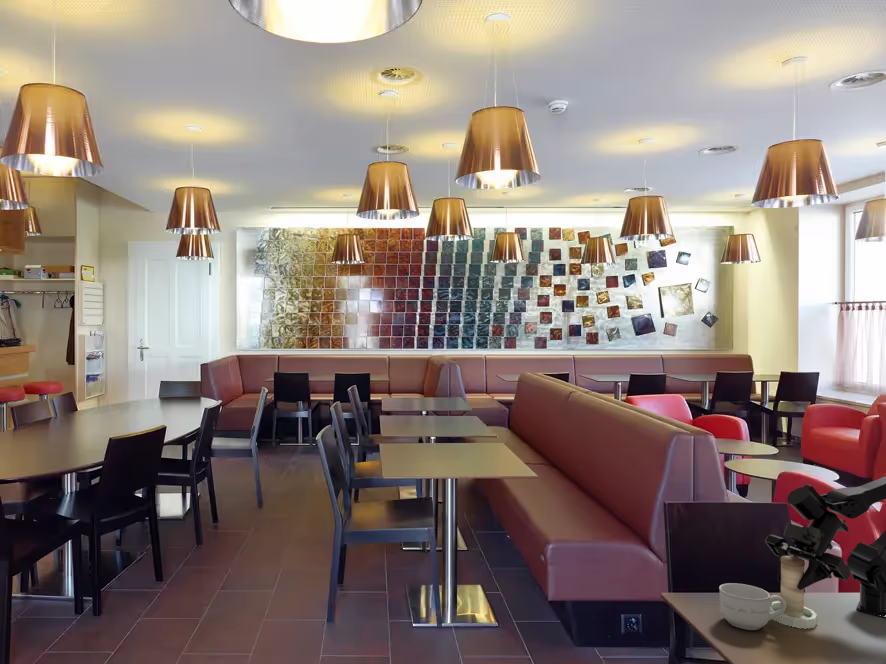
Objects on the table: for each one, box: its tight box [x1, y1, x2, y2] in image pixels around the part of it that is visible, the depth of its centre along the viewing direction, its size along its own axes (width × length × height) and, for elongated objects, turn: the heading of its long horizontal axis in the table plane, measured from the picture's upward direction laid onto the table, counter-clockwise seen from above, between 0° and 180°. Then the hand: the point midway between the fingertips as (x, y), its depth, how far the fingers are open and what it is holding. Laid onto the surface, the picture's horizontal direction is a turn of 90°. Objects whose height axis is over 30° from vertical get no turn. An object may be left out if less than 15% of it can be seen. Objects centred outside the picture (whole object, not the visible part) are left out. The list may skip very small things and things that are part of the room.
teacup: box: [718, 582, 786, 631], centre depth 142 cm, size 14×11×8 cm
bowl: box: [770, 600, 818, 630], centre depth 147 cm, size 10×10×2 cm
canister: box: [780, 556, 806, 617], centre depth 147 cm, size 5×5×12 cm
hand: (788, 584), depth 146 cm, fingers open, 5 cm apart
